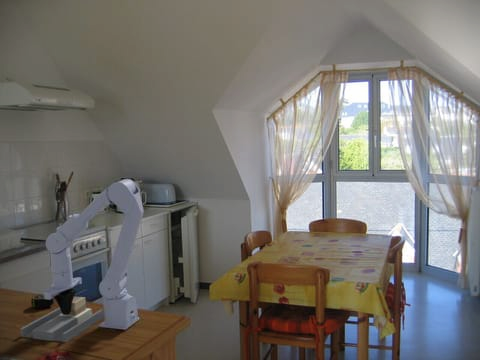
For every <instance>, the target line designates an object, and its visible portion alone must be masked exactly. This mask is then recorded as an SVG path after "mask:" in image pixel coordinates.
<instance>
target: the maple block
mask: <svg viewBox="0 0 480 360" xmlns="http://www.w3.org/2000/svg"><path fill="white" fill-rule="evenodd" d="M86 308H87V302H86V297H85V296H84V297H83V296H74V298H73V301H72V306H71V312H70V314H68V315H73V316H77V315H78V314H80V313H82V312H83V311H85V310H86Z"/></svg>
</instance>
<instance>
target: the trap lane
mask: <svg viewBox="0 0 480 360" xmlns="http://www.w3.org/2000/svg"><path fill="white" fill-rule="evenodd" d="M102 319H105V316H104V309H99V310H98V311H96V312H95V313H93V309H92V308H90V307H89V308H87V307H86V310H85V311H83V312H82V313H80V314H78V315H77V316H73V315H63V314H62V312H61V309H60V307H59V306H58V308H56V309H54V310H52V311H51V312H48V313H46V314H45V315H42V317H39V318H37V319H35V320H34V321H32V322H29V323H28V324H26V325H25V326H23V327H21V328H19V332H20V338H24V339H25V338H26V339H34V340H41V341H42V340H43V341H49V342H50V341H51V342H58V343H67V342H69V341H71V340H72V339H73V338H75V337H76V336H78V335H80V334H81V333H83V332H84V331H86V330H88V329H89V328H90V327H92V326H93V325H95V324H96V323H98V322H99V321H101V320H102Z"/></svg>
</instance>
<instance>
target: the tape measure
mask: <svg viewBox="0 0 480 360" xmlns="http://www.w3.org/2000/svg"><path fill="white" fill-rule="evenodd" d="M30 301H31V302H30V303H31V306H32V307H33V308H34V309H44V308H47V307H50V306H53V305H54V304H55V303H54V302H55V299H54V298H53V297H52V299H50V300H49V299H44V293H38V294H35V295H33V296H32V297H31V300H30Z"/></svg>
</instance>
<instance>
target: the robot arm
mask: <svg viewBox="0 0 480 360" xmlns="http://www.w3.org/2000/svg"><path fill="white" fill-rule="evenodd" d="M112 204H114V205H116V206H117V207H118V208H119V209H120V210H121V212H122V213H123V214H124V218H123V223H122V225H121V228H120V231H119V236H118V239H117V241H116V244H115V245H116V246H115V250H114V251H113V256H112V258H111V262H110V266H109V267H108V269H107V271H106V273H105V277H104V278H103V279H102V280H101V281H100V283H99V286H98V291H99V294H100V295H101V296H102V301H103V302H102V303H103V311H104V321H103V322H101V323H100V324H99V325H98V327H99V328H106V329H107V328H109V329H118V330H127V329H129V328H130V327H131V326H132V325H133V324H135V323H136V322H138V321H140V317H139V315H138V304H137V299H136V297H135V296H133V295H130V294H129V293H128V289H127V288H126V287H127V285H128V282H129V275H128V274H129V262H130V259H131V256H132V253H133V251H134V250H133V249H134V246H135V242H136V239H137V236H138V233H139V229H140V227H141V223H142V219H143V217H144V211H145V210H144V206H143V202H142V197H141V189H140V188H139V187H138V186H137V184H136V183H135V182H134V181H133V180H132V179H130V178H125V179H121V180H119V181H116V182H113V183H112V184H110V185H109V187H107V188H104V190H102V191H101V192H100V193H99V194H98V195H97V196H96V197H95V198H94V199H93V200H92V201H91V202H90V203H89V204H88V205H87V206H86V208H85V209H84V210H82V211H81V212H80V213H74V214H72V215H68V216H67V217H66V218H65V219H66V220H65V222H64V223H63V224H62V225H61V226H57V228H55V230H56V232H54V233H50V234H49V235H48V237H47V238H46V240H45V247H46V249H47V250H48V251H49V256H50V264H51V275H52V284H51V285H50V286H51V287H50V288H49V289H47V290H46V291H45V292H43V294H44V299H49V300H50V299H52V298H53V300H54V301H56V303H57V304H58V308H59V307H60V309H61V312H62V314H63V315H68V314H70V312H71V306H72V301H73V298H74V297H75V295H76V293H77V290H76V288H74V287H75V286H78V285H81V284H83V281H82V277H80V276H79V277H73V276H74V275H73V267H72V266H73V265H72V258H71V257H72V256H71V246H72V244H73V242H74V241H76V239H77V238H79V236H81V235H82V233H84V232H85V231H86V230H87V229H89V221H90V220H91V219H92V218H93V217H95V216H96V215H97V214H98V213H99V212H100V211H101V210H103V208H106V206H108V205H112Z"/></svg>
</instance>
